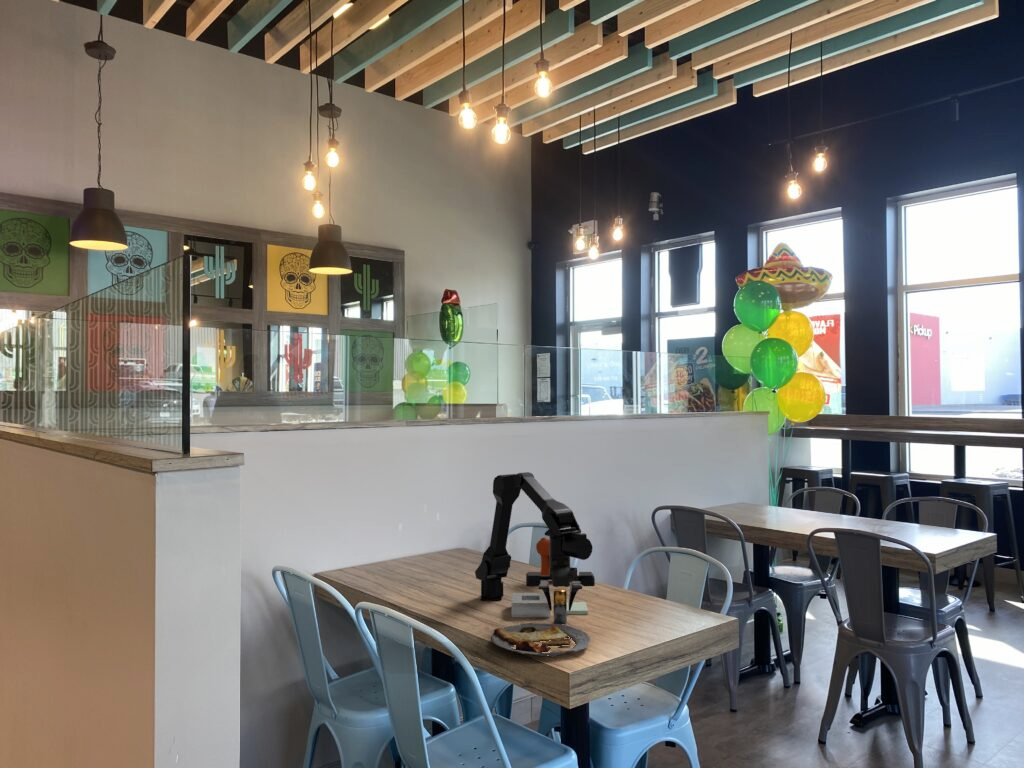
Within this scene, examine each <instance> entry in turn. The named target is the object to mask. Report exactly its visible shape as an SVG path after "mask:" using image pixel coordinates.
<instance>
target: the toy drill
mask: <svg viewBox="0 0 1024 768" xmlns="http://www.w3.org/2000/svg"><path fill="white" fill-rule="evenodd" d="M535 547H536V548H535V549H536V552H537V553H538V555H540V562H541V563H540V564H541V565H540V571H539V572H540V575H550V538H549V539H547V538H546V537H542V538H540V540H538V541H537V543H536V545H535ZM548 584H549V585H552V582H548Z"/></svg>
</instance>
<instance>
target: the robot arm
mask: <svg viewBox="0 0 1024 768" xmlns="http://www.w3.org/2000/svg"><path fill="white" fill-rule="evenodd" d="M521 491H523V492H524V494H525V495H526V496H527V497H528V498H529V499H530V500H531V502H532V503H533V504H535V506H536V507H537V509H539V511H540V512H541V518H542V521H543V522H544V524H545V525H546V527H547V528H548V529H547V530H546V531H545V532H544V535H545V536H547V537H549V540H550V575H540V572H541V571H527V573H525V581H526V582H525V585H526V587H538V588H537V589H538V590H542V593H544V594H545V596H546V599H547V602H548V605H549V609H550V612H551V611H552V608H553V607H552V605H553V604H552V600H551V592H550V591H551V590H550V586H549V585H550V584H548V582H552V584H551V586H552V587H554V588H558V587H564V588H568V587H569V596H568V602H569V611H570V610H571V607H572V604H573V602H574V601H575V597H576V595H577V593H578V591H579V590H582V589H583V587H595V584H596V581H595V575H594V573H593V572H592V571H579V572H578V567H571V558H574V559H578V560H583V561H585V560H588V559H589V557H590V556H591V555H592V552H593V545H592V542H591V540H590V539H589V538H588V537H587V533H585V532H584V533H583V532H582V529H581V528H580V525H579V524H578V521H577V519H576V517H575V513H574V512H573V510H572V509H571V508H570V507H569V506H567V505H566V504H565V503H563V502H560V501H558V500H556V499H555V498H553V497H552V496H551V494H550V493H549V492H548V491H547V490H546V489H545V488H544V487H543V486H542V484H541V483H540V482H539V481H538V480H537V479H536V478H535V476H534V474H533V473H532V472H529V471H528V472H527V471H525V472H519V473H512V474H511V473H508V474H499V475H497V476H495V477H493V482H492V494H493V497H494V499H495V501H496V503H495V509H494V515H493V522H492V528H491V529H492V530H491V535H490V543H489V546H488V547H487V548H486V550H485V551H483V554H482V559H481V561H480V563H479V565H478V567H477V568H476V570H475V571H474V574H475V578H476V580H479V581H480V600H481V601H502V600H503V599H502V598H503V597H504V581H502V578H507V576H508V571H509V569H510V568H511V560H512V556H511V555H510V554H509V553H508V550H507V544H508V543H507V542H508V536H509V531H510V523H511V517H512V512H513V511H512V510H513V505H514V504H515V502H516V501H517V499H519V497H520V493H521Z"/></svg>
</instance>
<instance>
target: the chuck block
mask: <svg viewBox="0 0 1024 768" xmlns="http://www.w3.org/2000/svg"><path fill="white" fill-rule="evenodd" d="M511 618H551V611H550V609H549V605H548V602H547V599H546V596H545V594H544V592H511Z"/></svg>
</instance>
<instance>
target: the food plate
mask: <svg viewBox="0 0 1024 768" xmlns="http://www.w3.org/2000/svg"><path fill="white" fill-rule="evenodd" d="M568 636H569V637H570V639H571V638H572V640H573V641H574V642H575V644H576V645H575V646H574V645H573V646H574V647H573V646H572V647H573V648H569V649H566V650H563V651H555V652H550V653H542V652H548V651H549V650H550V649H551V648H550V647H548V646H562V645H570V643H571V644H572V642H571V641H570V639H564V638H569V637H568ZM490 640H491V642H492V643H493V645H494V646H496V647H497V648H501V649H504V650H507V651H508V652H510V653H511V652H513V653H517V654H519V653H520V654H521V655H525V654H528V656H534V655H536V656H538V657H539V656H540V657H547V655H551V656H550V657H552V656H554V657H556V656H558V655H564V654H566V653H571V652H580V651H582V650H585V649H586V648H587V647H588V646H589V643H590V642H591V636H590V635H588V633H586V632H585V631H583V630H582V629H580V628H576V627H573V626H570V625H567V624H565V625H561V624H554V623H544V622H540V623H534V622H529V623H528V622H527V623H521V624H516V625H510V626H506V627H502V628H500V627H497V628H494V630H493V634H492V635H491V637H490ZM549 640H551V641H549ZM540 641H546V642H542V645H539V644H536V643H534V642H540ZM514 645H516V649H513V648H511V647H514ZM570 646H571V645H570ZM555 655H556V656H555Z"/></svg>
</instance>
